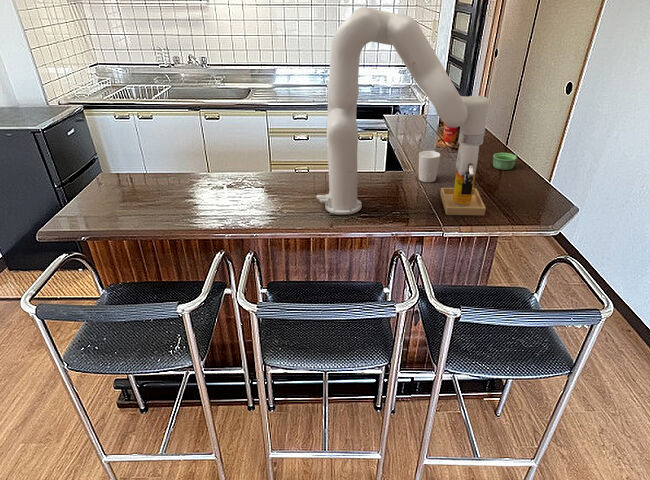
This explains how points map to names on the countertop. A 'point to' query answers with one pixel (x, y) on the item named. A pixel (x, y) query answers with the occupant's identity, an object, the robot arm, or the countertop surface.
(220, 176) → the countertop surface
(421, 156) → the white cup
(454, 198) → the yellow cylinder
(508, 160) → the ramekin
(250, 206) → the countertop surface
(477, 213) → the tray
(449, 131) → the paper cup
